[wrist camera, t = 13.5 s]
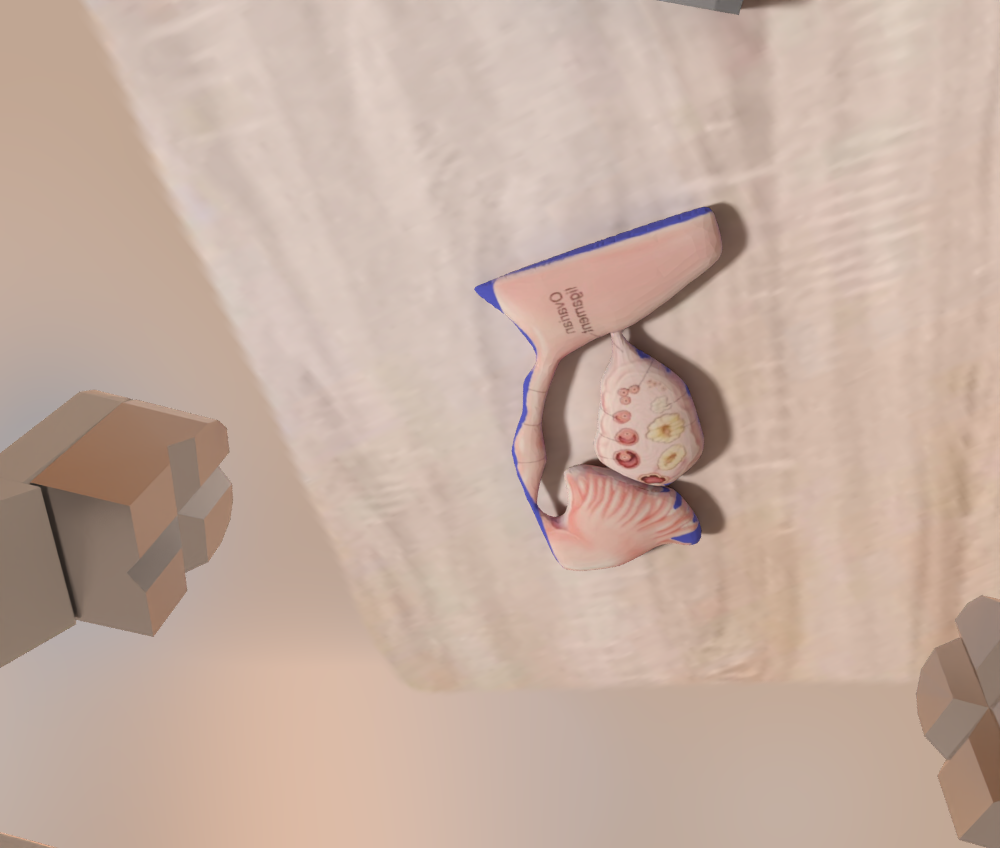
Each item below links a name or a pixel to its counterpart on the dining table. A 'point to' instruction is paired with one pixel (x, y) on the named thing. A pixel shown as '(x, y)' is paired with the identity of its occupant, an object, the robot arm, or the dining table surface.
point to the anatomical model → (612, 388)
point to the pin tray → (712, 5)
